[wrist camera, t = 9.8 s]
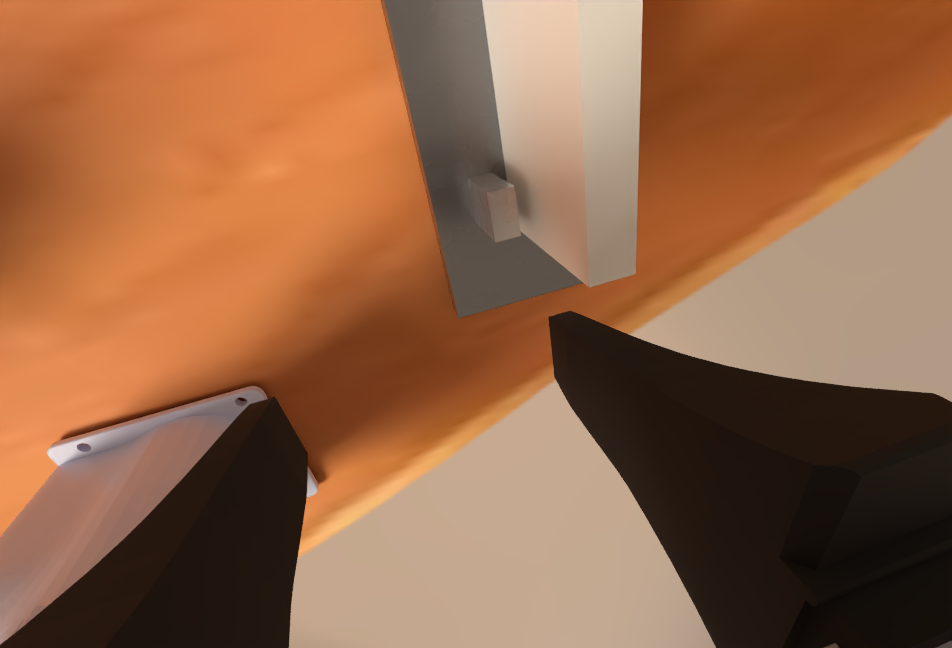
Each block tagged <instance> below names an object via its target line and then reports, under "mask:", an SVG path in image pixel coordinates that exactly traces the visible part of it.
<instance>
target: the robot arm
mask: <svg viewBox="0 0 952 648" xmlns="http://www.w3.org/2000/svg"><path fill="white" fill-rule="evenodd" d="M549 326H550V336H551V346H552V356H553V366H554V376H555V379H556V380H557V382H558V384H559V386H560V388H561V390H562V392H563V394H564V395H565V397H566V399H567V401H568V402H569V404H570V406H571V407H572V409H573V410H574V412H575V413H576V415H577V416H578V417H579V419H580V420H581V422H582V423H583V424H584V426H585V427H586V428H587V430H588V431H589V433H590V434H591V435H592V437H593V438H594V439H595V441H596V442H597V444H598V445H599V446H600V447H601V449H602V450H603V452H604V453H605V454H606V456H607V457H608V458H609V460H610V461H611V462H612V464H613V465H614V467H615V468H616V469H617V471H618V472H619V473H620V475H621V477H622V478H623V480H624V481H625V483H626V484H627V486H628V487H629V489H630V491H631V492H632V494H633V496H634V497H635V499H636V501H637V502H638V504H639V506H640V508H641V509H642V511H643V513H644V514H645V516H646V518H647V519H648V521H649V523H650V525H651V526H652V528H653V530H654V532H655V534H656V535H657V537H658V539H659V541H660V542H661V544H662V546H663V547H664V550H665V551H666V553H667V555H668V557H669V558H670V560H671V562H672V564H673V566H674V568H675V569H676V571H677V573H678V575H679V577H680V579H681V581H682V582H683V584H684V586H685V588H686V590H687V592H688V593H689V596H690V597H691V599H692V601H693V603H694V605H695V607H696V609H697V611H698V613H699V615H700V617H701V619H702V621H703V622H704V625H705V627H706V629H707V630H708V632H709V634H710V636H711V638H712V640H713V642H714V644H715V646H716V648H952V402H950V401H948V400H947V399H945V398H943V397H941V396H939V395H936V394H933V393H921V392H909V391H897V390H884V389H873V388H860V387H850V386H842V385H834V384H826V383H819V382H811V381H804V380H798V379H792V378H785V377H778V376H773V375H769V374H763V373H759V372H753V371H748V370H743V369H739V368H734V367H729V366H726V365H722V364H718V363H714V362H710V361H706V360H703V359H698V358H695V357H692V356H688V355H685V354H681V353H678V352H675V351H672V350H669V349H667V348H663V347H661V346H658V345H655V344H652V343H649V342H646V341H644V340H641V339H638V338H636V337H633V336H631V335H628V334H626V333H623V332H621V331H618V330H616V329H614V328H611V327H609V326H606V325H604V324H602V323H599V322H597V321H595V320H592V319H590V318H587V317H585V316H582V315H580V314H577V313H575V312H572V311H568V312H564V313H561V314H557V315H554V316H550V317H549ZM238 398H245V399H246V401H240V400H239V399H238ZM83 443H85V444H88V445H85V444H83ZM89 445H90V446H89ZM47 455H48V456H49V457H50V458H51V459H52V460H53V461H54V462H55V463H56V464H57V465H58V468H57V469H56V470H55V471H54V472H53V474H52V475H51V476H50V477H49V478H48V480H47V481H46V482H45V483H44V484H43V486H42V487H41V488H40V489H39V491H38V492H37V493H36V494H35V495H34V497H33V498H32V499H31V500H30V501H29V503H28V504H27V505H26V506H25V507H24V509H23V510H22V511H21V512H20V514H19V515H18V516H17V517H16V518H15V520H14V521H13V522H12V523H11V524H10V526H9V527H8V528H7V529H6V530H5V532H4V533H3V534H2V535H1V537H0V648H289V632H290V613H291V600H292V591H293V583H294V576H295V570H296V563H297V557H298V550H299V544H300V538H301V531H302V525H303V518H304V511H305V504H306V497H309V496H312V495H314V494H316V493H317V491H318V487H319V485H318V482H317V480H316V479H315V477H314V475H313V474H312V472H311V470H310V469H309V467H308V453H307V452H306V450H305V448H304V447H303V445H302V443H301V441H300V440H299V438H298V436H297V434H296V433H295V431H294V429H293V428H292V426H291V424H290V422H289V421H288V419H287V417H286V415H285V414H284V412H283V410H282V408H281V407H280V405H279V403H278V402H277V400H276V398H275V397H273V398H269V399H268V397H267V396H266V394H265V392H264V391H263V390H262V389H261V388H259V387H256V386H249V387H245V388H242V389H238V390H235V391H231V392H228V393H224V394H221V395H217V396H214V397H210V398H207V399H203V400H200V401H196V402H193V403H189V404H186V405H182V406H179V407H175V408H172V409H169V410H165V411H162V412H158V413H155V414H151V415H148V416H144V417H141V418H137V419H134V420H130V421H127V422H123V423H120V424H116V425H113V426H109V427H106V428H102V429H99V430H95V431H92V432H88V433H85V434H81V435H78V436H74V437H71V438H67V439H64V440H60V441H57V442H55V443H53V444H52V445H51V447H50V448H49V449H48V450H47Z"/></svg>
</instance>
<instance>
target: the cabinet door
mask: <svg viewBox="0 0 952 648" xmlns="http://www.w3.org/2000/svg"><path fill="white" fill-rule="evenodd" d="M482 4H483V11H484V18H485V25H486V33H487V40H488V47H489V54H490V62H491V69H492V76H493V84H494V91H495V98H496V105H497V113H498V120H499V127H500V135H501V142H502V149H503V156H504V164H505V171H506V178H507V182H508V183H510V184H512V185H514V186H515V191H516V199H517V207H518V215H519V223H520V231H521V232H522V233H523V234H525V235H526V236H527V237H528V238H529V239H531V240H532V241H533V242H534V243H535V244H537V245H538V246H539V247H540V248H542V249H543V250H544V251H545V252H546V253H548V254H549V255H550V256H551V257H553V258H554V259H555V260H556V261H557V262H559V263H560V264H561V265H562V266H563V267H565V268H566V269H567V270H568V271H570V272H571V273H572V274H573V275H574V276H576V277H577V278H578V279H579V280H580V281H582V282H583V283H584V284H585V285H587V286H588V287H589V288H590V287H593V286H597V285H600V284H604V283H607V282H610V281H614V280H617V279H621V278H624V277H628V276H631V275H635V274H636V243H637V204H638V165H639V127H640V88H641V49H642V11H643V0H482Z"/></svg>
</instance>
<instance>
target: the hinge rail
mask: <svg viewBox="0 0 952 648" xmlns="http://www.w3.org/2000/svg"><path fill="white" fill-rule="evenodd" d="M381 4H382V8H383V12H384V16H385V20H386V25H387V29H388V33H389V37H390V41H391V46H392V50H393V54H394V58H395V62H396V67H397V71H398V75H399V79H400V83H401V88H402V92H403V96H404V100H405V104H406V109H407V113H408V117H409V121H410V125H411V130H412V134H413V138H414V142H415V146H416V151H417V155H418V159H419V163H420V167H421V172H422V176H423V180H424V184H425V188H426V193H427V197H428V201H429V205H430V209H431V214H432V218H433V222H434V226H435V230H436V235H437V239H438V243H439V247H440V251H441V256H442V260H443V264H444V268H445V272H446V277H447V281H448V285H449V289H450V294H451V298H452V302H453V306H454V309H455V311H456V313H457V316H458V318H462V317H465V316H469V315H472V314H476V313H479V312H483V311H486V310H490V309H493V308H497V307H500V306H504V305H507V304H511V303H514V302H518V301H521V300H525V299H529V298H532V297H536V296H539V295H543V294H546V293H550V292H553V291H557V290H560V289H564V288H567V287H571V286H574V285H578V284H581V283H583V282H582V281H580V280H579V279H578V278H577V277H576V276H574V275H573V274H572V273H571V272H570V271H568V270H567V269H566V268H565V267H563V266H562V265H561V264H560V263H559V262H557V261H556V260H555V259H554V258H553V257H551V256H550V255H549V254H548V253H546V252H545V251H544V250H543V249H542V248H540V247H539V246H538V245H537V244H535V243H534V242H533V241H532V240H531V239H529V238H528V237H527V236H526V235H525V234H523V233H522V232H521V231H520V223H519V215H518V207H517V199H516V191H515V186H514V185H512V184H510V183H508V182H507V178H506V171H505V164H504V156H503V149H502V142H501V135H500V127H499V120H498V113H497V105H496V98H495V91H494V84H493V76H492V69H491V62H490V54H489V47H488V40H487V33H486V25H485V18H484V11H483V4H482V0H381Z"/></svg>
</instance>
